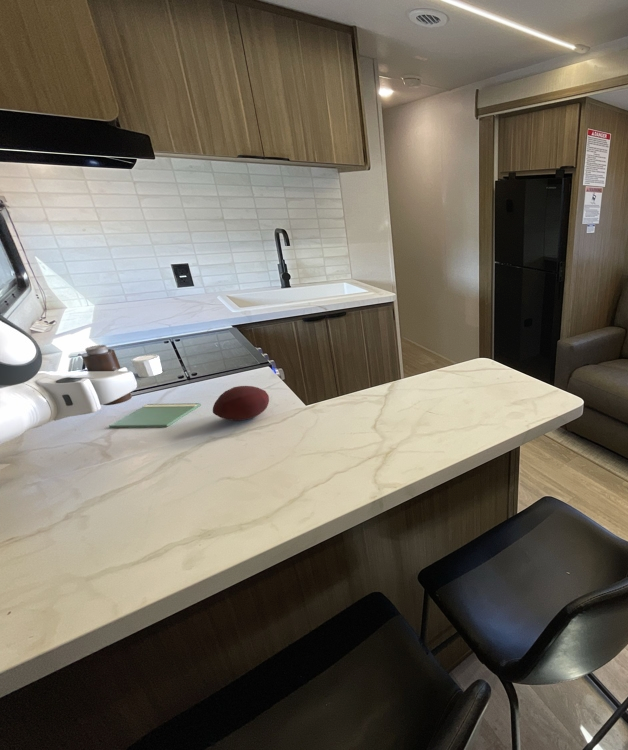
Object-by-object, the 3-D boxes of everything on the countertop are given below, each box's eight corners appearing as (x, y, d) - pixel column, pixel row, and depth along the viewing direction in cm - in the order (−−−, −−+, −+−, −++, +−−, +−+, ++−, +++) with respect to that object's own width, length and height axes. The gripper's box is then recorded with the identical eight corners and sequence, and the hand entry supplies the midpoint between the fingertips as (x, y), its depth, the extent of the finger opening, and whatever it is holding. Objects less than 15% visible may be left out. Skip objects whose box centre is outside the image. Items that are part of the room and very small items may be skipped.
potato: (282, 410, 105) (275, 381, 102) (248, 431, 95) (239, 399, 92) (245, 406, 108) (237, 377, 104) (208, 426, 97) (199, 395, 94)
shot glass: (161, 372, 131) (154, 352, 129) (169, 377, 128) (162, 356, 125) (135, 379, 126) (127, 358, 124) (142, 384, 123) (134, 362, 120)
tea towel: (109, 427, 97) (108, 425, 97) (149, 405, 108) (148, 403, 108) (167, 426, 97) (166, 424, 97) (201, 405, 109) (200, 402, 108)
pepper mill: (94, 405, 85) (71, 351, 81) (115, 395, 90) (94, 343, 86) (118, 405, 85) (96, 350, 81) (137, 395, 90) (118, 343, 86)
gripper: (-8, 413, 74) (67, 384, 87) (103, 412, 74) (161, 383, 87) (-24, 382, 72) (55, 357, 85) (90, 381, 72) (151, 356, 85)
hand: (109, 370), depth 86 cm, fingers closed on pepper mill, 5 cm apart
